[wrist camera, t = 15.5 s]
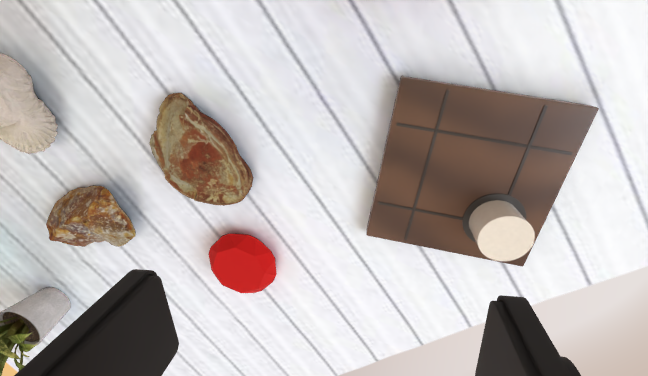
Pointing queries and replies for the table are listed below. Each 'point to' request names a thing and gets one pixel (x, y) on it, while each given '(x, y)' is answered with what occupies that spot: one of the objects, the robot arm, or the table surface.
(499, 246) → the cream cylinder puck
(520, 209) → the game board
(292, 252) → the table surface
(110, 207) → the decorative stone
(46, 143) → the fossil replica
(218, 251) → the gemstone
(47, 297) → the house plant
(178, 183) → the stone
